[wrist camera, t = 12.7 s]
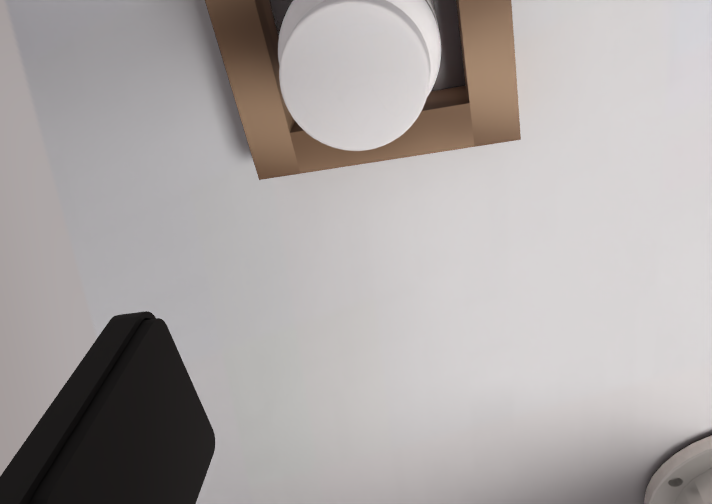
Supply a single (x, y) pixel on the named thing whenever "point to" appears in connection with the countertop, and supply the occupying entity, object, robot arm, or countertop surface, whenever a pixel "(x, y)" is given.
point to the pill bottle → (358, 68)
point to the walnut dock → (426, 135)
